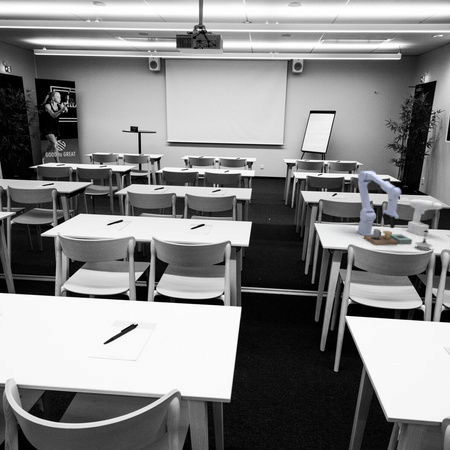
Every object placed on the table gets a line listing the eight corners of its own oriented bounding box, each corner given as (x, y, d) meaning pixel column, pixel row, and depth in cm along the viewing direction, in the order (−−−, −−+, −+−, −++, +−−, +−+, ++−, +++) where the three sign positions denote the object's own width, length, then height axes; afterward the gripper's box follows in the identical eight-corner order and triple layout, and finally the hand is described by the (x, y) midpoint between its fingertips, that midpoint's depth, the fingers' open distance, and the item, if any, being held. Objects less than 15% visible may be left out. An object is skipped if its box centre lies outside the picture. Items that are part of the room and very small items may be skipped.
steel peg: (370, 240, 267) (372, 229, 264) (376, 240, 267) (378, 229, 265) (374, 242, 263) (376, 230, 261) (379, 242, 264) (381, 230, 261)
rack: (388, 238, 273) (389, 234, 272) (400, 238, 275) (401, 234, 274) (399, 244, 262) (399, 239, 261) (411, 243, 264) (412, 239, 263)
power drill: (431, 239, 276) (438, 204, 269) (402, 230, 296) (408, 196, 289) (439, 238, 279) (446, 203, 273) (410, 229, 300) (416, 196, 293)
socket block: (363, 238, 271) (364, 235, 270) (385, 238, 274) (385, 235, 273) (374, 245, 258) (375, 242, 257) (397, 244, 261) (397, 241, 260)
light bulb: (421, 226, 259) (415, 229, 253) (437, 230, 252) (431, 233, 246) (418, 245, 262) (411, 247, 256) (434, 249, 255) (427, 252, 249)
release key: (382, 237, 267) (383, 230, 266) (387, 237, 268) (388, 230, 267) (385, 239, 264) (386, 232, 262) (391, 239, 264) (392, 232, 263)
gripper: (404, 208, 254) (400, 229, 258) (391, 203, 268) (387, 223, 271) (394, 208, 253) (390, 229, 256) (381, 203, 266) (378, 223, 270)
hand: (388, 226), depth 264 cm, fingers open, 7 cm apart
